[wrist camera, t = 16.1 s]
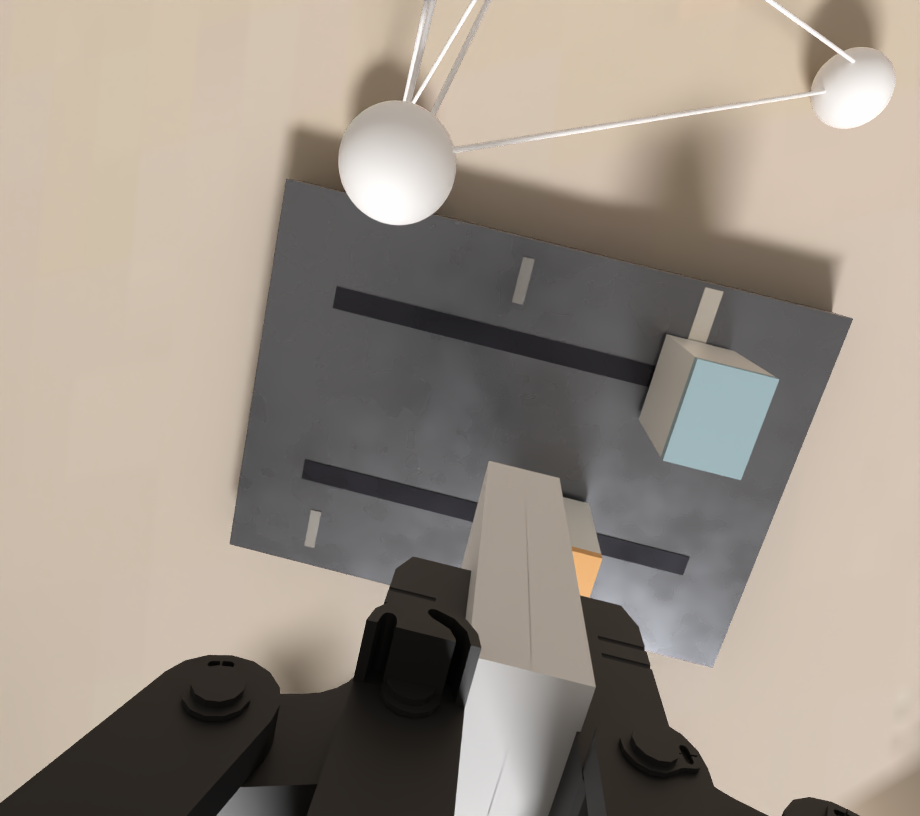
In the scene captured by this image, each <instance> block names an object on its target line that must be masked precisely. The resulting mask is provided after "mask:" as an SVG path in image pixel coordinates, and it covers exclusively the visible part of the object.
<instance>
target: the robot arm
mask: <svg viewBox="0 0 920 816" xmlns="http://www.w3.org/2000/svg"><path fill="white" fill-rule="evenodd" d="M644 650H645V646H644V642H643V639H642V636H641V633H640V629H639V626H638V625H637V624H636V623H635V622H634V620H633V619H632V618H631V617H630V616H629V614H628V613H627V612H626V611H625V610H624V608H623V607H622V606H621V605H617V604H613V603H609V602H605V601H601V600H597V599H593V598H589V597H585V596H581V595H580V593H579V587H578V582H577V576H576V570H575V564H574V559H573V553H572V547H571V541H570V536H569V530H568V524H567V518H566V513H565V507H564V501H563V495H562V490H561V484H560V478H557V477H553V476H549V475H545V474H541V473H537V472H533V471H529V470H525V469H521V468H517V467H512V466H508V465H504V464H500V463H496V462H492V461H489V462H488V466H487V470H486V474H485V477H484V481H483V485H482V489H481V493H480V497H479V501H478V504H477V508H476V512H475V516H474V520H473V524H472V527H471V531H470V535H469V539H468V543H467V547H466V551H465V554H464V558H463V562H462V566H461V568H458V567H454V566H450V565H446V564H442V563H438V562H434V561H430V560H426V559H422V558H418V557H414V556H413V557H411V558H410V559H409V560H407V561H406V562H404V563H403V564H402V565H400V566H399V567H397V568H396V569H395V572H394V575H393V578H392V581H391V584H390V587H389V590H388V593H387V596H386V599H385V602H384V605H382V606H380V607H377V608H375V610H374V611H373V612H372V613H371V615H370V616H369V617H368V619H367V620H366V625H365V629H364V634H363V639H362V643H361V648H360V652H359V657H358V661H357V666H356V670H355V675H354V677H353V678H352V679H351V680H350V681H349V682H347V683H345V684H343V685H341V686H339V687H338V688H335V689H332V690H328V691H324V692H321V693H310V694H280V687H279V686H278V684H277V683H276V681H275V679H274V678H273V676H272V675H271V673H270V672H269V671H267V670H266V669H264V668H263V667H261V666H260V665H258V664H257V663H255V662H254V661H250V660H246V659H243V658H239V657H236V656H232V655H207V656H202V657H198V658H194V659H190V660H185V661H183V662H182V663H180V664H178V665H176V666H174V667H173V668H171V669H169V670H167V671H165V672H164V673H163V674H162V675H160V676H159V677H158V678H157V679H155V680H154V681H153V682H152V683H150V684H149V685H148V686H147V687H145V688H144V689H143V690H142V691H140V692H139V693H138V694H137V695H135V696H134V697H133V698H132V699H130V700H129V701H128V702H127V703H125V704H124V705H123V706H122V707H120V708H119V709H118V710H117V711H115V712H114V713H113V714H111V715H110V716H109V717H108V718H106V719H105V720H104V721H103V722H101V723H100V724H99V725H98V726H96V727H95V728H94V729H93V730H91V731H90V732H89V733H88V734H86V735H85V736H84V737H83V738H81V739H80V740H79V741H78V742H76V743H75V744H74V745H73V746H71V747H70V748H69V749H68V750H66V751H65V752H64V753H63V754H61V755H60V756H59V757H58V758H56V759H55V760H54V761H53V762H51V763H50V764H49V765H48V766H46V767H45V768H44V769H42V770H41V771H40V772H39V773H37V774H36V775H35V776H34V777H32V778H31V779H30V780H29V781H27V782H26V783H25V784H24V785H22V786H21V787H20V788H19V789H17V790H16V791H15V792H14V793H12V794H11V795H10V796H9V797H7V798H6V799H5V800H4V801H2V802H1V803H0V816H768V815H766V814H764V813H762V812H760V811H758V810H756V809H754V808H752V807H750V806H748V805H746V804H744V803H742V802H740V801H738V800H736V799H734V798H732V797H730V796H729V795H727V794H725V793H723V792H722V791H720V790H718V789H717V788H715V787H714V785H713V782H712V779H711V776H710V773H709V771H708V768H707V766H706V764H705V763H704V761H703V759H702V757H701V756H700V754H699V752H698V751H697V750H696V749H695V748H694V747H693V746H692V745H691V743H690V742H689V741H688V740H687V739H686V738H685V737H684V736H683V735H681V734H680V733H678V732H677V731H675V730H674V729H672V728H671V727H669V725H668V721H667V718H666V715H665V711H664V708H663V705H662V702H661V698H660V695H659V692H658V688H657V685H656V682H655V679H654V675H653V672H652V669H650V662H649V659H648V656H647V652H646V651H644ZM782 816H859V815H857V814H856V813H854V812H852V811H850V810H848V809H845V808H844V807H841V806H839V805H837V804H835V803H833V802H829V801H825V800H820V799H816V798H811V797H807V798H801V799H795V800H793V801H792V802H791V803H790V804H789V805H788V806H787V808H786V809H785V810H784V812H783V814H782Z"/></svg>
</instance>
